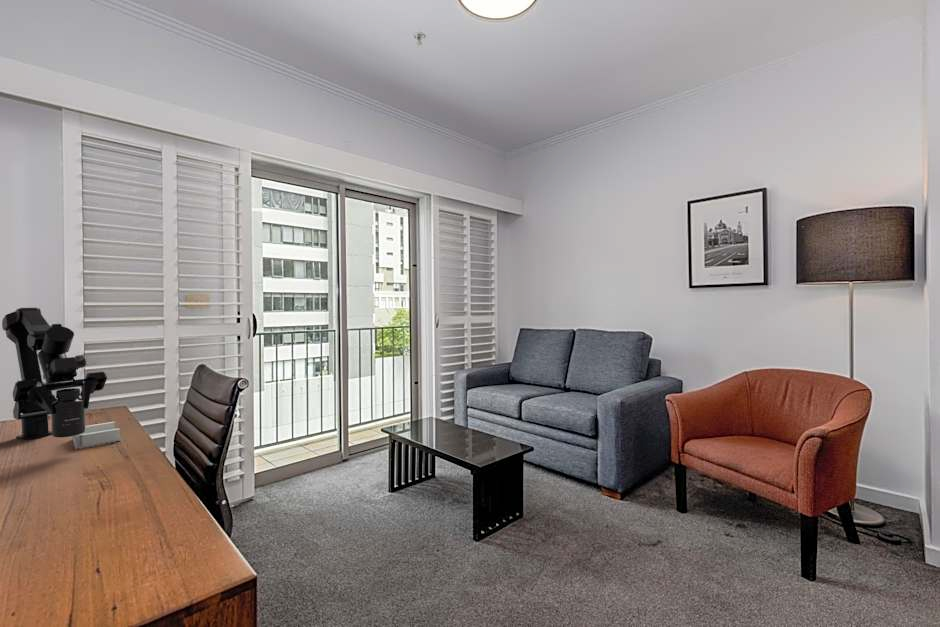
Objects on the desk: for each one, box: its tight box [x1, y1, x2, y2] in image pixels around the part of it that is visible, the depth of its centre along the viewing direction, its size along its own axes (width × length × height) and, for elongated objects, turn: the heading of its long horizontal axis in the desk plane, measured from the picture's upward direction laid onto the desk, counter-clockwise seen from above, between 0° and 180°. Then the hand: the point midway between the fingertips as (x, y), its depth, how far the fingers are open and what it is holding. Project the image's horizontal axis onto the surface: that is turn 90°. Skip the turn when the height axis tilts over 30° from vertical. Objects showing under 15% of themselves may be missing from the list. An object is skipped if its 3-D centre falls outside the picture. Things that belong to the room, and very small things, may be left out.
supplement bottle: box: [50, 387, 86, 438], centre depth 122 cm, size 7×7×12 cm
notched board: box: [71, 421, 121, 450], centre depth 135 cm, size 10×12×4 cm
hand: (70, 410), depth 122 cm, fingers closed on supplement bottle, 7 cm apart
